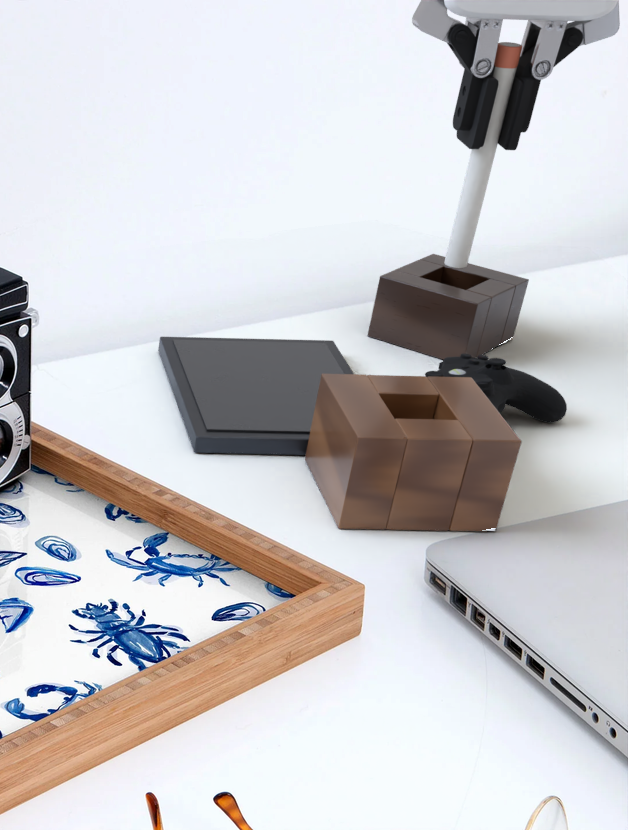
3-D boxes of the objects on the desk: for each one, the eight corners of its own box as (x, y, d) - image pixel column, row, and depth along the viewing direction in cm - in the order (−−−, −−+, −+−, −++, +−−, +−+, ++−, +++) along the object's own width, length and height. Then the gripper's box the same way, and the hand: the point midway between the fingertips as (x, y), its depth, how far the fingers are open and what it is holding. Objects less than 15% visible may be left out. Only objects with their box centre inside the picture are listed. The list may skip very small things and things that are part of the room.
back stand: (419, 311, 100) (433, 253, 97) (513, 339, 96) (529, 279, 93) (366, 336, 96) (379, 275, 93) (462, 366, 92) (477, 303, 89)
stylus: (463, 261, 94) (517, 42, 86) (470, 269, 92) (526, 47, 85) (440, 260, 94) (493, 41, 86) (447, 268, 92) (501, 46, 85)
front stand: (449, 463, 80) (472, 376, 77) (496, 532, 74) (522, 440, 71) (304, 459, 80) (321, 373, 77) (338, 528, 74) (358, 437, 71)
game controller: (513, 454, 78) (429, 355, 79) (445, 507, 82) (365, 413, 83) (582, 403, 84) (503, 311, 85) (515, 455, 88) (440, 367, 89)
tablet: (330, 355, 93) (333, 338, 92) (392, 457, 81) (397, 439, 80) (157, 351, 93) (160, 334, 92) (194, 453, 81) (196, 435, 80)
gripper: (689, -216, 81) (589, 131, 92) (409, -224, 81) (342, 125, 92) (751, -206, 75) (637, 164, 86) (449, -215, 75) (373, 157, 86)
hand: (485, 142), depth 89 cm, fingers closed on stylus, 1 cm apart
